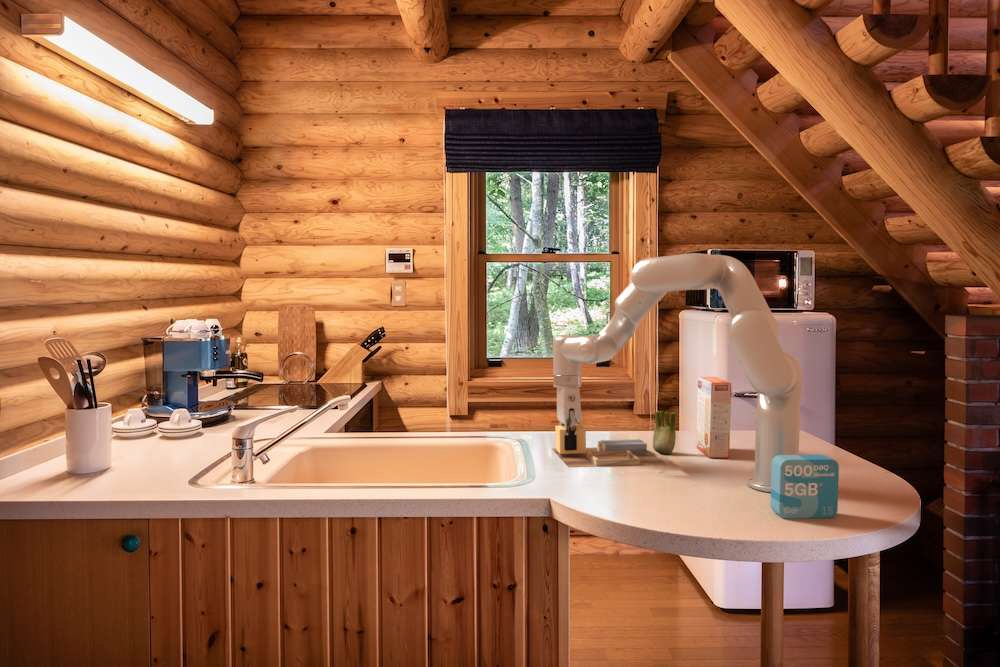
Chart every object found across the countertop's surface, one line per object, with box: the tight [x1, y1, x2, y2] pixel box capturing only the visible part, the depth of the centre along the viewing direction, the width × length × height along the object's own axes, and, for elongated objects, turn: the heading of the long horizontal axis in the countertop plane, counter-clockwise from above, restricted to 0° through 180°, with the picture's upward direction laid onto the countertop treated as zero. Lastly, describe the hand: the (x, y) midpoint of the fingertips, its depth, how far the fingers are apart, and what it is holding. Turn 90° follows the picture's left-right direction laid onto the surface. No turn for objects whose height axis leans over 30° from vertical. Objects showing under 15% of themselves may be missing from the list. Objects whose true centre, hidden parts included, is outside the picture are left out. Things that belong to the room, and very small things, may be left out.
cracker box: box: [696, 376, 733, 459], centre depth 206 cm, size 14×6×21 cm, turn 179°
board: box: [551, 439, 669, 468], centre depth 197 cm, size 22×26×4 cm
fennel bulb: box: [652, 410, 677, 455], centre depth 206 cm, size 6×5×12 cm
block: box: [554, 424, 587, 454], centre depth 199 cm, size 6×7×6 cm
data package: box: [770, 454, 840, 520], centre depth 149 cm, size 12×4×12 cm, turn 93°
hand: (567, 446), depth 199 cm, fingers closed on block, 6 cm apart
